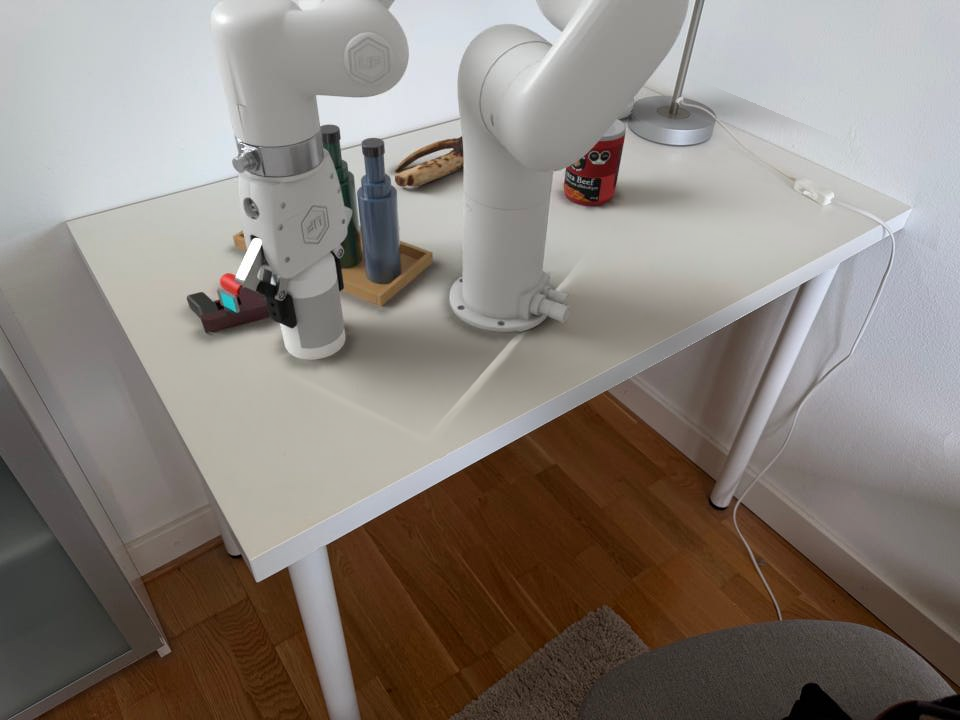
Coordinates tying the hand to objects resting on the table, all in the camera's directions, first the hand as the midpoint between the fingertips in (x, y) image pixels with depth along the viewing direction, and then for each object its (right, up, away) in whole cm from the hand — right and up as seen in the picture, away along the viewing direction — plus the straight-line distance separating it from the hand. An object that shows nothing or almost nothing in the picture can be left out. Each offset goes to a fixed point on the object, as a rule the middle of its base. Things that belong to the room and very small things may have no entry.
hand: (308, 303), depth 74 cm
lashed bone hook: (+11, +24, +35) cm, 44 cm away
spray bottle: (0, -4, +4) cm, 6 cm away
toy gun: (-10, 0, +9) cm, 13 cm away
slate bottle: (+6, +5, +13) cm, 15 cm away
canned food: (+35, +19, +31) cm, 51 cm away
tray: (-1, +7, +17) cm, 18 cm away
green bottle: (+1, +7, +16) cm, 17 cm away
